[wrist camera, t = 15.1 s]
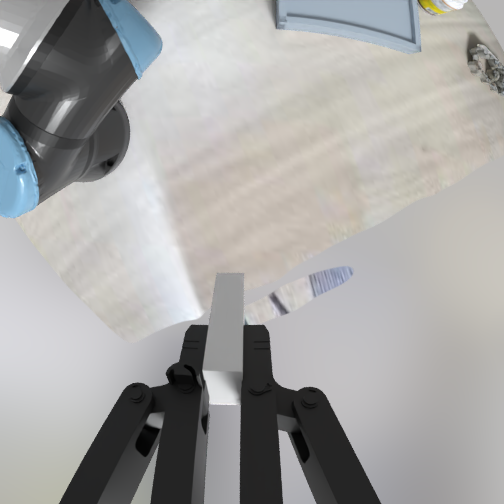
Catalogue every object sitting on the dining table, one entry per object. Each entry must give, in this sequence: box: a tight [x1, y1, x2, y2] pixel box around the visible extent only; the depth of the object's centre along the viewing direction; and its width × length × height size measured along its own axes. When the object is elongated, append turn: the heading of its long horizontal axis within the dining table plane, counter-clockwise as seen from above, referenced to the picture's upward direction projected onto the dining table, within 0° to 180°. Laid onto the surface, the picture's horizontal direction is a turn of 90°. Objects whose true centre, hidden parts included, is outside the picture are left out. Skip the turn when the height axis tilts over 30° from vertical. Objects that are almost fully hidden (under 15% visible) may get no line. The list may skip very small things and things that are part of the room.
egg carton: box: [468, 44, 504, 97], centre depth 27 cm, size 11×8×4 cm
